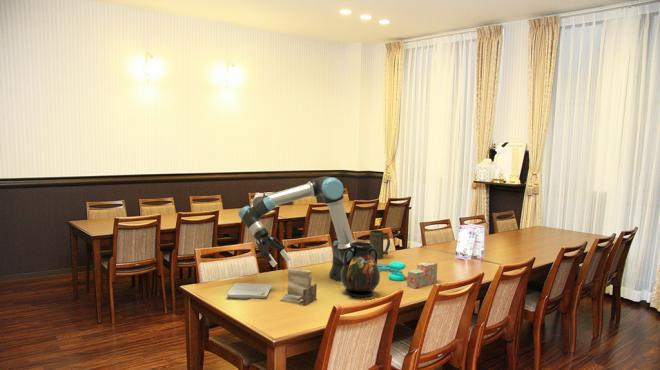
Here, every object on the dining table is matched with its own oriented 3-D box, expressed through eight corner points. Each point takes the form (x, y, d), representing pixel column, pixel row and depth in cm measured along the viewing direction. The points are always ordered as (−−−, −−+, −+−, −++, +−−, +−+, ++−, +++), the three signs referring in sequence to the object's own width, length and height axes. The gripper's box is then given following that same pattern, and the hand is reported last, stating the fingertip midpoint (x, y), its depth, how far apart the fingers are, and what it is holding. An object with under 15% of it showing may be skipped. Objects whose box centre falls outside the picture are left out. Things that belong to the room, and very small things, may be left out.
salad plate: (235, 288, 275) (235, 282, 275) (273, 289, 275) (273, 283, 274) (225, 300, 254) (225, 293, 254) (266, 302, 253) (267, 295, 253)
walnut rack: (291, 296, 263) (292, 279, 262) (317, 301, 256) (317, 284, 256) (279, 302, 252) (279, 285, 251) (305, 307, 245) (305, 290, 244)
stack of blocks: (415, 289, 284) (416, 268, 283) (406, 286, 288) (407, 266, 287) (436, 282, 299) (437, 262, 298) (427, 280, 303) (429, 260, 302)
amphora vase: (346, 301, 257) (348, 248, 255) (334, 289, 277) (336, 240, 275) (385, 299, 263) (387, 247, 261) (370, 287, 284) (372, 239, 281)
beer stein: (366, 258, 354) (369, 231, 353) (367, 255, 365) (370, 228, 363) (387, 261, 352) (391, 234, 350) (388, 258, 363) (391, 231, 361)
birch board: (290, 295, 261) (291, 267, 259) (310, 299, 255) (311, 271, 254) (287, 297, 258) (288, 269, 256) (307, 301, 252) (308, 272, 251)
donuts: (403, 265, 297) (387, 263, 300) (402, 282, 297) (386, 280, 301) (407, 262, 306) (391, 260, 309) (406, 278, 307) (390, 276, 310)
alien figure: (402, 275, 315) (396, 267, 335) (402, 271, 315) (397, 264, 335) (370, 274, 314) (367, 266, 334) (371, 271, 314) (367, 263, 334)
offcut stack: (287, 298, 255) (287, 293, 255) (304, 302, 251) (304, 297, 251) (282, 301, 251) (282, 296, 251) (299, 304, 247) (299, 299, 247)
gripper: (267, 232, 278) (289, 262, 272) (240, 239, 255) (264, 272, 250) (275, 224, 275) (298, 254, 269) (249, 230, 253) (273, 263, 247)
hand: (282, 262), depth 260 cm, fingers open, 13 cm apart
